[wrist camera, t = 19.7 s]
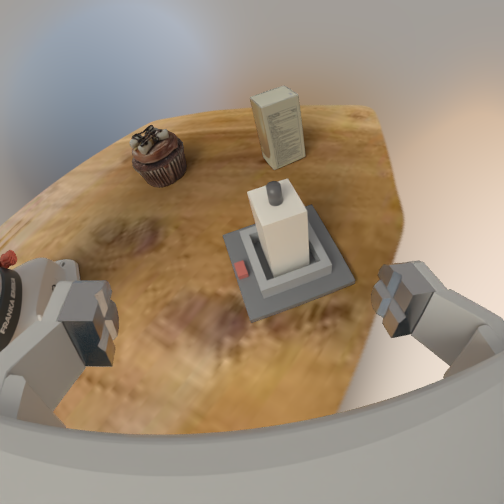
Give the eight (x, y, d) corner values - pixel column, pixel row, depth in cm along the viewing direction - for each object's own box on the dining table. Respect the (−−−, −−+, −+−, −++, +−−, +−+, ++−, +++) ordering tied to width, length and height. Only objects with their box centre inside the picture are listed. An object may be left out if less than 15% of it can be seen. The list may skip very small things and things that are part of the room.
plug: (261, 247, 39) (243, 177, 30) (294, 235, 39) (285, 163, 30) (274, 279, 36) (258, 212, 27) (309, 266, 37) (306, 196, 27)
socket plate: (224, 238, 42) (218, 226, 40) (311, 208, 43) (311, 194, 40) (251, 322, 35) (246, 313, 32) (354, 283, 35) (357, 271, 33)
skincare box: (293, 145, 51) (286, 84, 41) (306, 157, 49) (300, 93, 39) (260, 157, 51) (247, 96, 41) (272, 171, 48) (260, 106, 38)
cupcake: (202, 162, 53) (185, 117, 45) (164, 198, 49) (140, 153, 41) (168, 151, 57) (151, 111, 49) (133, 183, 54) (110, 143, 45)
